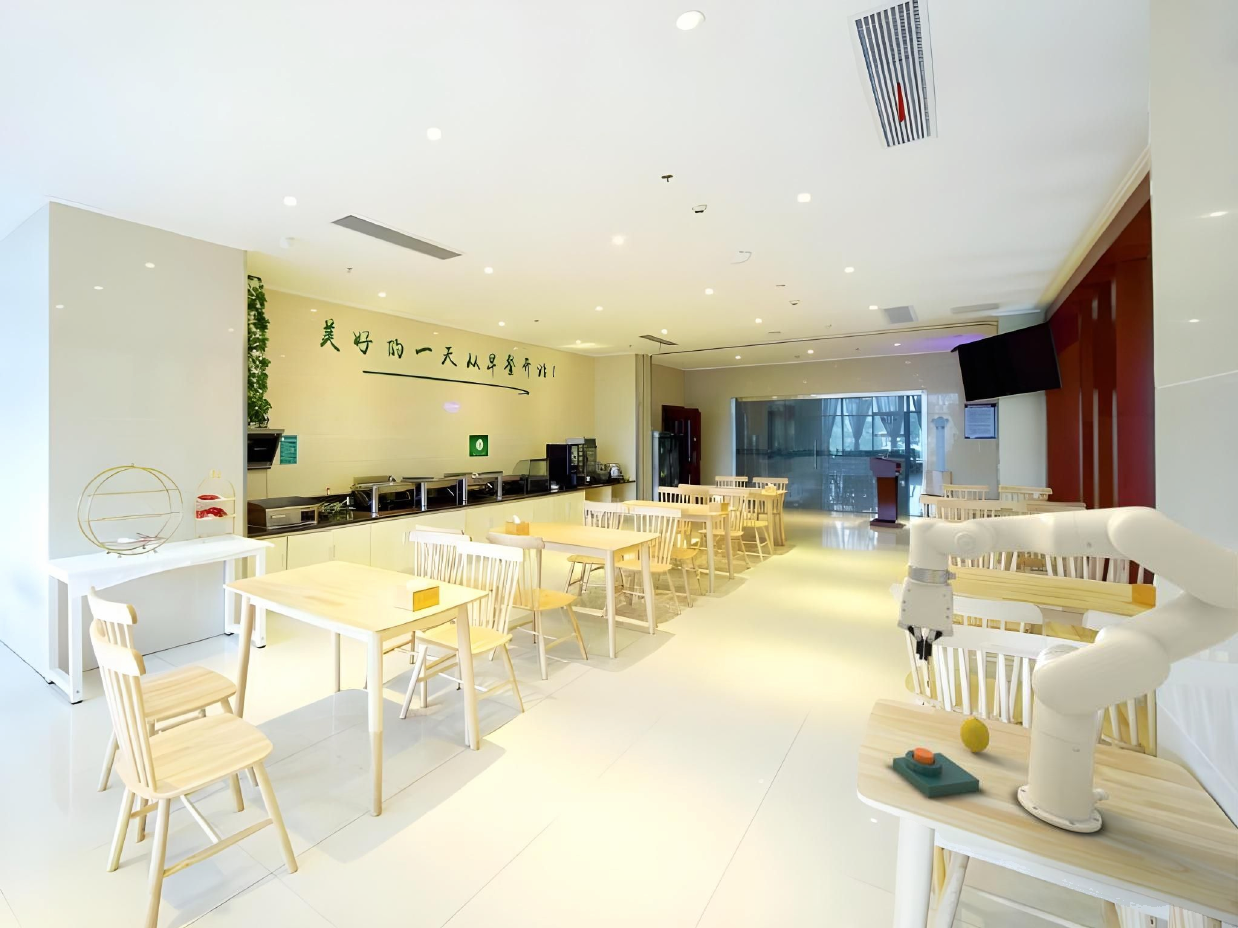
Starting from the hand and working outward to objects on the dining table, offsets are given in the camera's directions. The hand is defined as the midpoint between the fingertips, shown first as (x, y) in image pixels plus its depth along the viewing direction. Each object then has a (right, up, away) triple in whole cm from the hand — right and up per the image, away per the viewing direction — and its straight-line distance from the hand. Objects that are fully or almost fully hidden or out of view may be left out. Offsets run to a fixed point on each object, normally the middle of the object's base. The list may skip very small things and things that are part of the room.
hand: (923, 658), depth 121 cm
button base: (-1, -23, -6) cm, 24 cm away
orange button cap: (-3, -19, -6) cm, 20 cm away
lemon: (+14, -23, +5) cm, 28 cm away
